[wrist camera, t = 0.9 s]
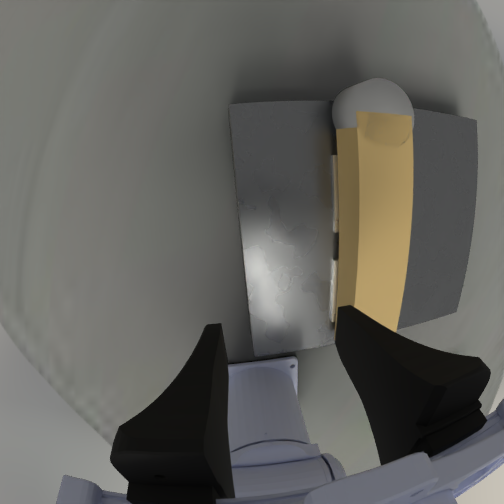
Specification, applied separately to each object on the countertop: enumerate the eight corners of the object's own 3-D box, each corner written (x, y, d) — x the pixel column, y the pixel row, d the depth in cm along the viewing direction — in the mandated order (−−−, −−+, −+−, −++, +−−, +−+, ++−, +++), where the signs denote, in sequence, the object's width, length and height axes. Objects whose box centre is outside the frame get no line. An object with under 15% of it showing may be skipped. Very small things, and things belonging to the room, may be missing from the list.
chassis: (440, 298, 26) (459, 314, 23) (251, 334, 25) (255, 360, 22) (453, 114, 19) (479, 114, 16) (227, 103, 18) (228, 94, 15)
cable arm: (329, 84, 15) (348, 74, 12) (385, 89, 15) (410, 82, 12) (331, 339, 21) (344, 364, 19) (377, 330, 22) (393, 352, 19)
